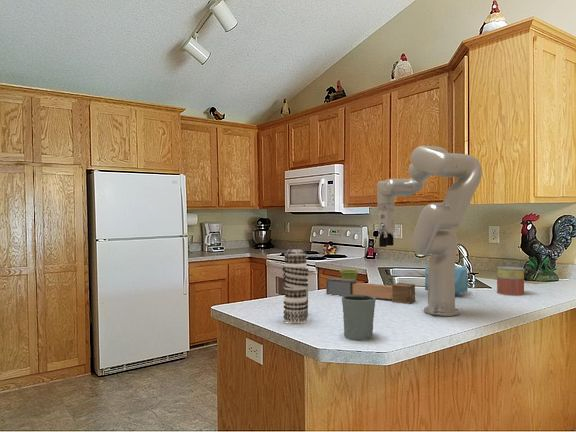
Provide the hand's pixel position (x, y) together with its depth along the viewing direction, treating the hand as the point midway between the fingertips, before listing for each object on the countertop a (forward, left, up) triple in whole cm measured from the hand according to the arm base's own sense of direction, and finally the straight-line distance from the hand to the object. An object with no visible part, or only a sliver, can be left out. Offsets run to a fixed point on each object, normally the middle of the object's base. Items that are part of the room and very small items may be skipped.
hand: (386, 246), depth 189 cm
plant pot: (+12, +24, -23) cm, 35 cm away
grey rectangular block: (-6, +20, -23) cm, 31 cm away
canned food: (+38, -46, -23) cm, 64 cm away
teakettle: (+20, -22, -23) cm, 38 cm away
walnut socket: (-6, -9, -23) cm, 26 cm away
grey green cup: (-63, -14, -23) cm, 69 cm away
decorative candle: (-58, +12, -23) cm, 64 cm away
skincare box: (-49, +16, -23) cm, 57 cm away
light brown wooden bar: (-6, +4, -23) cm, 24 cm away
